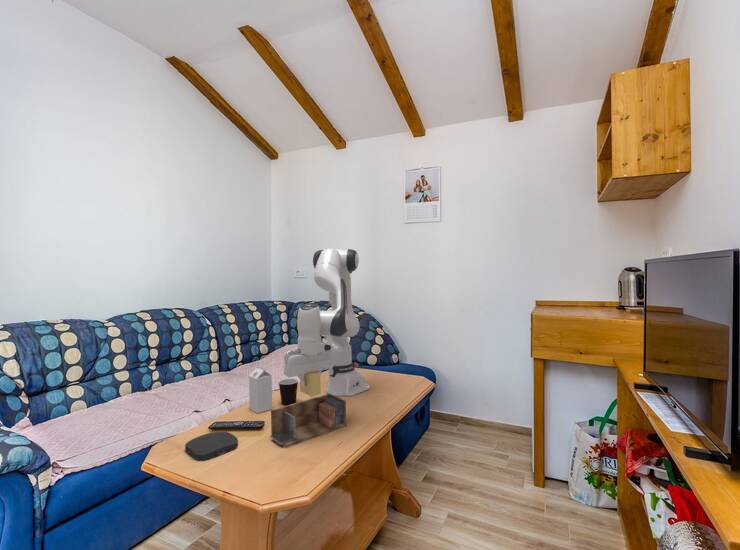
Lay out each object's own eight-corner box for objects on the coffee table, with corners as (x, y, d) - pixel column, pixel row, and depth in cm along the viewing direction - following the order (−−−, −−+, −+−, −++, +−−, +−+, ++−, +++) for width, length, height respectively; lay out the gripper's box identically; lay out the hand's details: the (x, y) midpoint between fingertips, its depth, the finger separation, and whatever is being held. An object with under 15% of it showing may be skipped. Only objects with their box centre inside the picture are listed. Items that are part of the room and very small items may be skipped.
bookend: (284, 432, 138) (284, 410, 138) (295, 439, 132) (295, 417, 132) (270, 437, 134) (269, 415, 134) (280, 444, 128) (280, 421, 128)
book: (309, 389, 144) (308, 368, 144) (320, 394, 138) (320, 372, 138) (300, 391, 142) (299, 370, 142) (311, 396, 136) (311, 374, 135)
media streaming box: (181, 449, 128) (181, 441, 128) (222, 435, 139) (222, 427, 139) (199, 464, 119) (199, 455, 118) (242, 447, 129) (242, 439, 129)
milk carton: (264, 405, 169) (263, 363, 169) (272, 409, 164) (271, 366, 163) (249, 409, 164) (248, 366, 164) (257, 413, 159) (256, 369, 158)
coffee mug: (291, 407, 165) (291, 385, 165) (275, 405, 168) (274, 383, 168) (305, 398, 176) (304, 377, 176) (289, 397, 179) (289, 376, 179)
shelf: (330, 417, 153) (329, 393, 153) (346, 425, 145) (345, 400, 145) (271, 437, 136) (270, 410, 136) (286, 447, 128) (285, 418, 128)
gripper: (288, 353, 130) (289, 392, 131) (336, 344, 144) (336, 380, 144) (280, 350, 135) (281, 388, 135) (327, 342, 149) (327, 377, 149)
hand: (310, 384), depth 140 cm, fingers closed on book, 4 cm apart
